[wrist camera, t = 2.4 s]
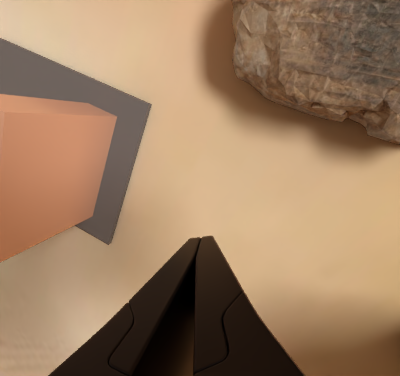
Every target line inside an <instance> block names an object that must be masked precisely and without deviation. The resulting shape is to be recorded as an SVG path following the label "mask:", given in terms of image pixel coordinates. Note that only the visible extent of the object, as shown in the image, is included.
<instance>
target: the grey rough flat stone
mask: <svg viewBox="0 0 400 376" xmlns="http://www.w3.org/2000/svg"><path fill="white" fill-rule="evenodd" d="M232 3H233V21H232V26H233V30H234V34H235V38H236V43H235V46H234V50H233V58H232V61H233V66H234V71H235V73H236V76H237V78H238V79H241V80H243V81H246V82H248V83H250V84H251V85H252V86H253V87H254V88H255V89H256V90H257V91H258V92H260V93H261V94H262V95H263V96H264V97H265V98H267V99H269V100H271V101H273V102H275V103H277V104H280V105H284V106H287V107H291V108H293V109H296V110H298V111H301V112H303V113H306V114H310V115H313V116H317V117H320V118H324V119H331V120H335V121H340V122H342V121H343V120H345V119H346V118H350V119H352V120H354V121H356V122H358V123H361V124H362V125H363V126H364V127H365V128H366V130H367V135H369V136H373V137H376V138H379V139H383V140H386V141H389V142H393V143H397V144H400V0H232Z"/></svg>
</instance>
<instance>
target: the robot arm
mask: <svg viewBox="0 0 400 376" xmlns="http://www.w3.org/2000/svg"><path fill="white" fill-rule="evenodd" d="M48 376H305V374H304V373H303V372H302V371H301V370H300V368H299V367H298V366H297V364H296V363H295V362H294V361H293V359H292V358H291V357H290V356H289V354H288V353H287V352H286V351H285V349H284V348H283V347H282V345H281V344H280V343H279V342H278V340H277V339H276V338H275V337H274V335H273V334H272V333H271V331H270V330H269V329H268V328H267V326H266V325H265V323H264V322H263V321H262V319H261V318H260V317H259V315H258V314H257V312H256V310H255V309H254V307H253V306H252V304H251V302H250V301H249V299H248V297H247V295H246V294H245V293H244V290H243V289H242V287H241V285H240V283H239V282H238V280H237V278H236V276H235V275H234V273H233V271H232V269H231V267H230V266H229V264H228V262H227V260H226V259H225V257H224V255H223V253H222V252H221V250H220V248H219V246H218V244H217V243H216V241H215V239H214V237H213V236H205V237H202V238H200V237H198V238H190V239H189V240H188V241H187V242H186V243H185V244H184V245H183V246H182V247H181V248H180V249H179V250H178V251H177V252H176V253H175V254H174V255H173V256H172V257H171V258H170V259H169V260H168V261H167V262H166V263H165V264H164V265H163V266H162V268H161V269H160V270H159V271H158V272H157V273H156V274H155V275H154V276H153V277H152V278H151V279H150V280H149V281H148V282H147V283H146V284H145V285H144V286H143V287H142V288H141V289H140V290H139V291H138V292H137V293H136V294H135V295H134V296H133V297H132V298H131V299H130V300H129V303H126V304H125V305H124V306H123V307H122V308H121V309H120V311H119V312H118V313H117V314H115V315H114V316H113V317H112V318H111V319H110V320H109V321H108V322H107V323H106V324H105V325H104V326H103V327H102V328H101V329H100V330H99V331H98V332H97V333H96V334H94V335H93V336H92V337H91V338H90V339H89V340H88V341H87V342H86V343H85V344H83V345H82V346H81V347H80V348H79V349H78V350H77V351H75V352H74V353H73V354H72V355H71V356H70V357H69V358H68V359H66V360H65V361H64V362H63V363H62V364H61V365H60V366H59V367H57V368H56V369H55V370H54V371H53V372H52V373H51V374H49V375H48Z"/></svg>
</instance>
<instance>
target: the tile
mask: <svg viewBox="0 0 400 376" xmlns="http://www.w3.org/2000/svg"><path fill="white" fill-rule="evenodd" d="M116 119H117V116H115V115H113V114H110V113H108V112H106V111H104V110H102V109H100V108H97V107H95V106H93V105H91V104H89V103H82V102H73V101H63V100H53V99H44V98H34V97H25V96H15V95H6V94H0V262H2V261H4V260H6V259H8V258H10V257H12V256H14V255H16V254H18V253H20V252H22V251H24V250H26V249H28V248H30V247H32V246H34V245H36V244H38V243H40V242H42V241H44V240H46V239H48V238H50V237H52V236H54V235H56V234H58V233H60V232H62V231H64V230H66V229H68V228H70V227H72V226H74V225H76V224H78V223H80V222H82V221H84V220H86V219H88V218H90V217H92V216H93V212H94V208H95V204H96V200H97V196H98V192H99V188H100V184H101V180H102V176H103V172H104V168H105V164H106V160H107V156H108V152H109V148H110V144H111V140H112V135H113V131H114V127H115V123H116Z"/></svg>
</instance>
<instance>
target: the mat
mask: <svg viewBox="0 0 400 376" xmlns="http://www.w3.org/2000/svg"><path fill="white" fill-rule="evenodd" d="M0 94H6V95H15V96H25V97H34V98H44V99H53V100H63V101H73V102H82V103H89V104H91V105H93V106H95V107H97V108H100V109H102V110H104V111H106V112H108V113H110V114H113V115H115V116H117V119H116V123H115V127H114V131H113V135H112V140H111V144H110V148H109V152H108V156H107V160H106V164H105V168H104V172H103V176H102V180H101V184H100V188H99V192H98V196H97V200H96V204H95V208H94V212H93V216H92V217H90V218H88V219H86V220H84V221H82V222H80V223H78V224H76V225H75V226H77V227H78V228H80V229H82V230H84V231H85V232H87V233H89V234H91V235H92V236H94V237H96V238H98V239H99V240H101V241H103V242H104V243H106V244H108V245H109V244H110V243H111V241H112V238H113V235H114V231H115V228H116V224H117V221H118V217H119V214H120V211H121V207H122V204H123V200H124V197H125V193H126V190H127V187H128V183H129V180H130V176H131V173H132V170H133V166H134V163H135V159H136V156H137V152H138V149H139V146H140V142H141V139H142V135H143V132H144V128H145V125H146V122H147V118H148V115H149V111H150V108H151V105H152V104H150V103H147V102H145V101H143V100H140V99H138V98H136V97H134V96H131V95H129V94H127V93H124V92H122V91H120V90H118V89H115V88H113V87H111V86H109V85H106V84H104V83H102V82H99V81H97V80H95V79H93V78H90V77H88V76H86V75H84V74H81V73H79V72H77V71H74V70H72V69H70V68H68V67H65V66H63V65H61V64H58V63H56V62H54V61H52V60H49V59H47V58H45V57H43V56H40V55H38V54H36V53H33V52H31V51H29V50H27V49H24V48H22V47H20V46H17V45H15V44H13V43H11V42H8V41H6V40H4V39H1V38H0Z"/></svg>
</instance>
